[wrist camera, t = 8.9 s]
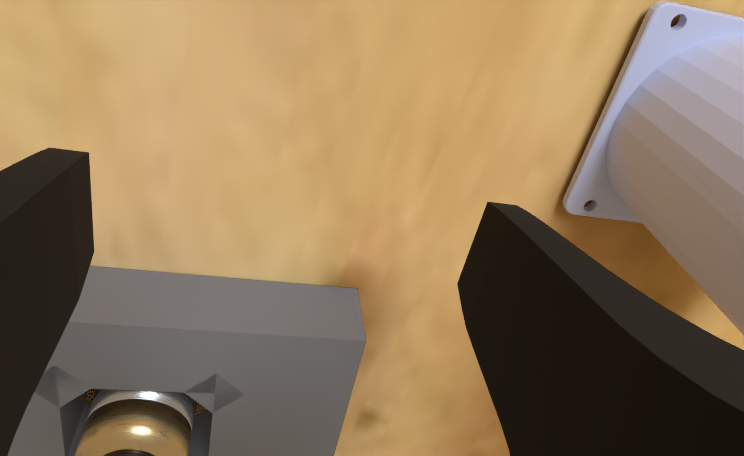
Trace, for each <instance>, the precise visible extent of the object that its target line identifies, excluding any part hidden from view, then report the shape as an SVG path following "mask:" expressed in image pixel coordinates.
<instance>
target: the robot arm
mask: <svg viewBox="0 0 744 456" xmlns="http://www.w3.org/2000/svg"><path fill="white" fill-rule="evenodd" d="M678 14H679V15H680V18H679V21H678V23H677V24H676V25H675V26H673V27H671V26H670V25H671V21H672V20H673V18H674V17H675V16H677V15H678ZM589 200H592V202H591V203H590V204H589V205H587V206H584V205H585V203H586V202H588V201H589ZM562 203H563V207H564V208H565V209H566V211H567V212H568V213H570V214H572V215H580V216H588V217H596V218H604V219H612V220H621V221H629V222H637V223H642V224H643V225H644V226H645V227H646V228H647V229H648V230H649V232H650V233H651V234H652V235H653V236H654V237H655V238H656V239H657V240H658V242H659V243H660V244H661V245H662V246H663V247H664V248H665V249H666V250H667V251H668V253H669V254H670V255H671V256H672V257H673V258H674V259H675V260H676V261H677V262H678V264H679V265H680V266H681V267H682V268H683V269H684V270H685V271H686V272H687V273H688V275H689V276H690V277H691V278H692V279H693V280H694V281H695V282H696V283H697V285H698V286H699V287H700V288H701V289H702V290H703V291H704V292H705V293H706V294H707V296H708V297H709V298H710V299H711V300H712V301H713V302H714V303H715V304H716V305H717V307H718V308H719V309H720V310H721V311H722V312H723V313H724V314H725V315H726V316H727V318H728V319H729V320H730V321H731V322H732V323H733V324H734V325H735V326H736V327H737V329H738V330H739V331H740V332H741V333H742V334H743V335H744V18H742V17H738V16H733V15H729V14H724V13H720V12H715V11H710V10H706V9H701V8H697V7H692V6H688V5H683V4H679V3H674V2H670V1H660V2H657V3H655V4H654V5H653V6H652V7H650V9H649V10H648V12H647V13H646V15H645V17H644V20H643V22H642V24H641V26H640V29H639V31H638V33H637V35H636V38H635V40H634V42H633V44H632V46H631V49H630V51H629V53H628V55H627V58H626V60H625V62H624V64H623V66H622V69H621V71H620V73H619V75H618V78H617V80H616V82H615V84H614V86H613V89H612V91H611V93H610V95H609V98H608V100H607V102H606V104H605V107H604V109H603V111H602V113H601V115H600V118H599V120H598V122H597V124H596V127H595V129H594V131H593V133H592V135H591V138H590V140H589V142H588V144H587V147H586V149H585V151H584V153H583V155H582V158H581V160H580V162H579V164H578V167H577V169H576V171H575V173H574V176H573V178H572V180H571V182H570V184H569V187H568V189H567V191H566V193H565V196H564V198H563V202H562ZM93 253H94V240H93V221H92V202H91V183H90V165H89V153H88V152H80V151H72V150H64V149H56V148H47V149H45V150H42V151H40V152H38V153H35V154H33V155H31V156H29V157H27V158H25V159H23V160H21V161H19V162H17V163H15V164H13V165H11V166H9V167H7V168H5V169H3V170H2V171H0V456H8V453H9V450H10V447H11V445H12V442H13V439H14V436H15V434H16V431H17V429H18V427H19V424H20V422H21V420H22V417H23V415H24V413H25V410H26V408H27V406H28V404H29V402H30V400H31V398H32V396H33V394H34V392H35V390H36V388H37V386H38V383H39V381H40V379H41V377H42V375H43V373H44V371H45V369H46V367H47V365H48V363H49V361H50V359H51V357H52V355H53V353H54V351H55V349H56V347H57V345H58V343H59V340H60V338H61V336H62V334H63V332H64V330H65V328H66V326H67V324H68V322H69V320H70V318H71V315H72V313H73V311H74V309H75V307H76V305H77V303H78V301H79V298H80V295H81V292H82V289H83V286H84V283H85V280H86V277H87V273H88V270H89V266H90V263H91V260H92V256H93ZM457 284H458V290H459V295H460V301H461V306H462V311H463V316H464V320H465V325H466V329H467V332H468V334H469V337H470V340H471V343H472V346H473V349H474V352H475V354H476V357H477V360H478V363H479V366H480V368H481V371H482V374H483V376H484V379H485V382H486V385H487V387H488V390H489V393H490V396H491V398H492V401H493V404H494V406H495V409H496V412H497V415H498V417H499V420H500V423H501V426H502V429H503V432H504V435H505V438H506V442H507V445H508V448H509V452H510V456H744V350H742V349H740V348H738V347H736V346H734V345H732V344H730V343H728V342H726V341H724V340H722V339H720V338H718V337H716V336H714V335H712V334H711V333H709V332H707V331H705V330H703V329H701V328H700V327H698V326H696V325H694V324H693V323H691V322H689V321H687V320H686V319H684V318H682V317H680V316H679V315H677V314H675V313H674V312H672V311H670V310H668V309H667V308H665V307H663V306H662V305H660V304H659V303H657V302H655V301H654V300H652V299H651V298H649V297H647V296H646V295H644V294H643V293H641V292H640V291H638V290H637V289H635V288H634V287H632V286H631V285H629V284H628V283H627V282H625V281H624V280H622V279H621V278H619V277H618V276H616V275H615V274H613V273H612V272H611V271H609V270H608V269H606V268H605V267H603V266H602V265H601V264H599V263H598V262H597V261H595V260H594V259H592V258H591V257H590V256H588V255H587V254H586V253H584V252H583V251H582V250H580V249H579V248H578V247H576V246H575V245H574V244H572V243H571V242H569V241H568V240H567V239H565V238H564V237H563V236H561V235H560V234H559V233H557V232H556V231H555V230H553V229H552V228H551V227H549V226H548V225H546V224H545V223H544V222H542V221H541V220H539V219H538V218H536V217H535V216H533V215H532V214H530V213H529V212H527V211H526V210H524V209H522V208H520V207H519V206H517V205H509V204H501V203H493V202H487V205H486V208H485V210H484V213H483V216H482V219H481V221H480V224H479V227H478V229H477V232H476V235H475V237H474V240H473V243H472V246H471V248H470V251H469V254H468V256H467V259H466V262H465V264H464V267H463V270H462V273H461V275H460V278H459V281H458V283H457Z"/></svg>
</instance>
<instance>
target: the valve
mask: <svg viewBox="0 0 744 456" xmlns="http://www.w3.org/2000/svg"><path fill="white" fill-rule="evenodd" d="M195 409H196V401H195V400H193V399H192V398H191V397H189V396H188V395H186V394H185V393H184V392H161V391H137V390H113V389H96V392H95V395H94V398H93V401H92V405H91V408H90V411H89V414H88V417H87V420H86V423H85V426H84V429H83V432H82V435H81V438H80V441H79V444H78V447H77V450H76V453H75V456H189V449H190V442H191V436H192V429H193V422H194V416H195Z"/></svg>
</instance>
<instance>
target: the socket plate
mask: <svg viewBox="0 0 744 456" xmlns="http://www.w3.org/2000/svg"><path fill="white" fill-rule="evenodd" d="M365 343H366V337H365V331H364V325H363V319H362V312H361V306H360V300H359V294H358V289H356V288H344V287H332V286H320V285H308V284H297V283H285V282H273V281H261V280H249V279H237V278H225V277H213V276H201V275H189V274H177V273H166V272H154V271H142V270H130V269H118V268H106V267H94V266H89V270H88V273H87V277H86V280H85V283H84V286H83V289H82V292H81V295H80V298H79V301H78V303H77V305H76V307H75V309H74V311H73V313H72V315H71V318H70V320H69V322H68V324H67V326H66V328H65V330H64V332H63V334H62V336H61V338H60V340H59V343H58V345H57V347H56V349H55V351H54V353H53V355H52V357H51V359H50V361H49V363H48V365H47V367H46V369H45V371H44V373H43V375H42V377H41V379H40V381H39V383H38V386H37V388H36V390H35V392H34V394H33V396H32V398H31V400H30V402H29V404H28V406H27V408H26V410H25V413H24V415H23V417H22V420H21V422H20V424H19V427H18V429H17V431H16V434H15V436H14V439H13V442H12V445H11V447H10V450H9V453H8V456H75V453H76V450H77V447H78V444H79V441H80V438H81V435H82V432H83V429H84V426H85V423H86V420H87V417H88V414H89V411H90V408H91V404H90V403H88V402H87V401H86V393H85V392H86V391H88V390H90V389H113V390H137V391H161V392H184V393H185V394H186V395H188V396H189V397H191V398H192V399H193V400H195V401H196V402H198V403H199V404H200V405H202V406H203V407H205V408H206V409H207V410H206V411H205V412H203V413H201V414H199V415H198V416H196V417H194V422H193V429H192V436H191V442H190V449H189V456H334V453H335V449H336V446H337V442H338V439H339V435H340V432H341V428H342V424H343V421H344V417H345V414H346V410H347V407H348V403H349V400H350V396H351V393H352V389H353V386H354V382H355V378H356V375H357V371H358V368H359V364H360V361H361V357H362V354H363V350H364V347H365Z"/></svg>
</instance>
